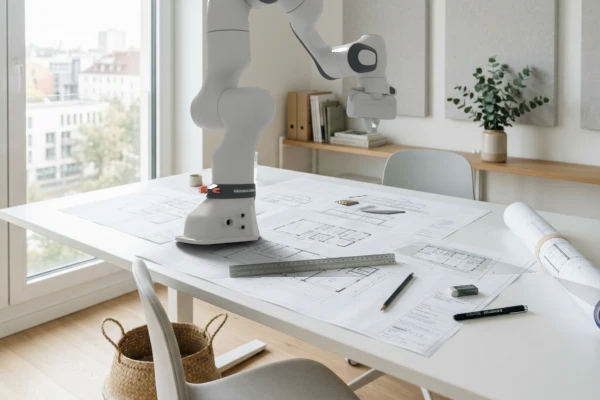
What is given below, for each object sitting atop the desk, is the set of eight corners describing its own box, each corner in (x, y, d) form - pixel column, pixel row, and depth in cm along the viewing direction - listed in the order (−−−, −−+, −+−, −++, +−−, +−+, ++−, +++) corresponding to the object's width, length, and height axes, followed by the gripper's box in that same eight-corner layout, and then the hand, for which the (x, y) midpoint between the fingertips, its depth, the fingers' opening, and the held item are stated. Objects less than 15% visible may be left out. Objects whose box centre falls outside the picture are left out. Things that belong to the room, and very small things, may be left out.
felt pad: (386, 214, 181) (386, 213, 181) (360, 212, 188) (360, 210, 188) (405, 212, 187) (405, 211, 187) (379, 210, 194) (379, 208, 194)
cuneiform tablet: (352, 197, 191) (326, 196, 200) (352, 211, 192) (326, 209, 201) (367, 195, 196) (341, 194, 205) (367, 209, 196) (341, 207, 205)
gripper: (357, 85, 178) (357, 132, 179) (400, 90, 192) (399, 133, 193) (341, 86, 183) (341, 132, 184) (384, 91, 197) (384, 134, 198)
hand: (371, 133), depth 189 cm, fingers closed
